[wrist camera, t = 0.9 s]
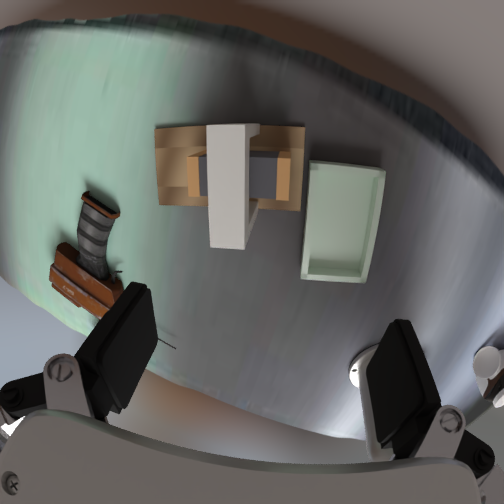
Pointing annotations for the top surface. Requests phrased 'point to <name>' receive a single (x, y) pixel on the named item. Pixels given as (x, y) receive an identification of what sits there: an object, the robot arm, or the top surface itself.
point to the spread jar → (490, 374)
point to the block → (260, 174)
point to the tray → (341, 221)
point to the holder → (195, 140)
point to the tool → (88, 262)
